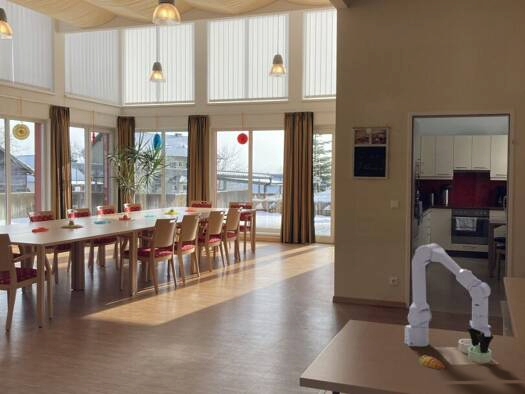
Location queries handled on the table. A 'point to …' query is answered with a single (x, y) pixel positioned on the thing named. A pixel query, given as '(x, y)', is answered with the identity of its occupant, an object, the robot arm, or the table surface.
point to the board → (458, 356)
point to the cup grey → (465, 345)
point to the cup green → (479, 356)
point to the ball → (477, 349)
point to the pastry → (431, 362)
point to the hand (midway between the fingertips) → (479, 349)
